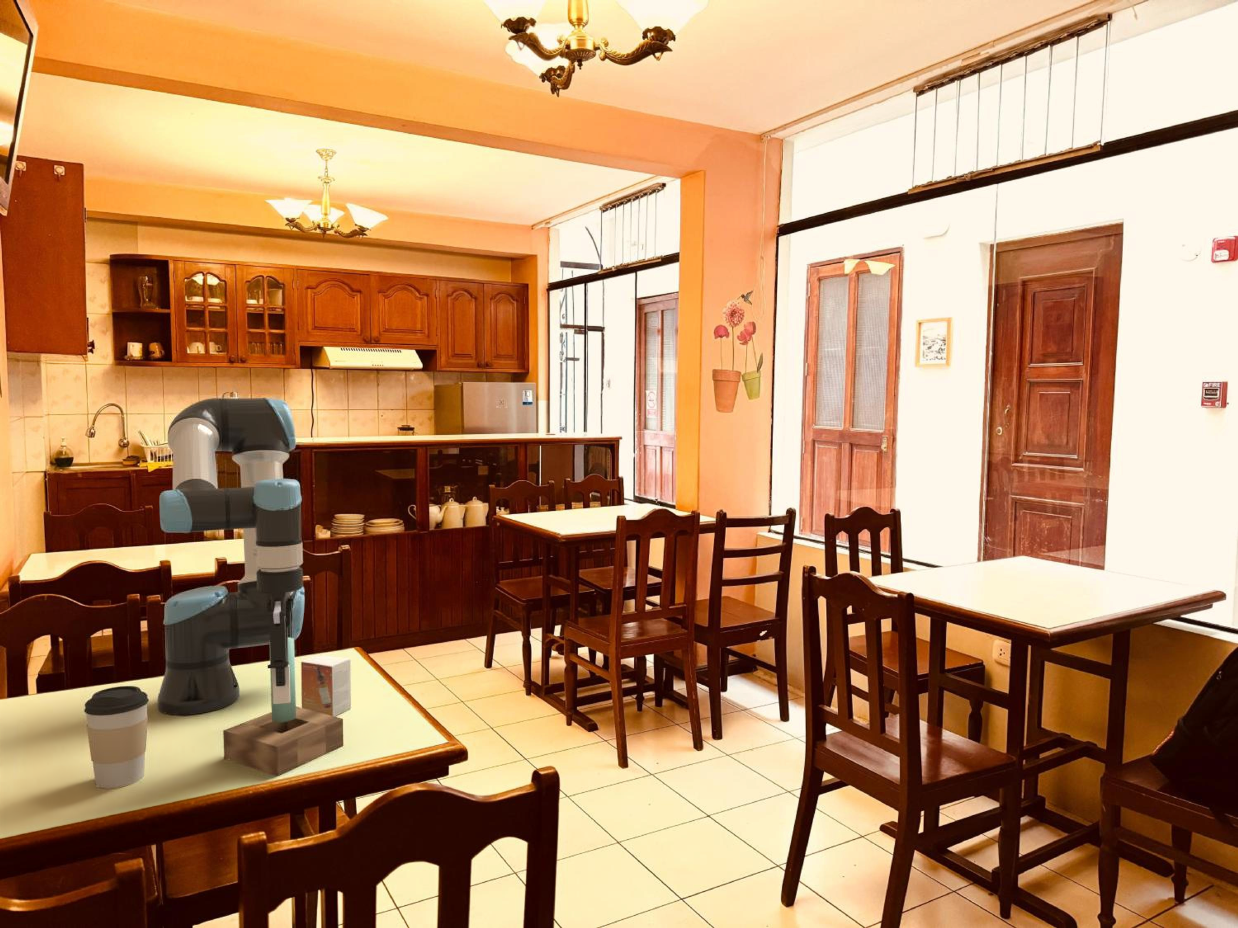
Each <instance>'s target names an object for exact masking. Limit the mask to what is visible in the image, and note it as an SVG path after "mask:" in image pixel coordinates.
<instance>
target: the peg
mask: <svg viewBox="0 0 1238 928" xmlns="http://www.w3.org/2000/svg"><path fill="white" fill-rule="evenodd" d="M294 651H295V640H294V638H290V637H288V662H289V668H290V703H281V704H273V677H272V668H269V670H270V672H269V673H270V697H271V698H270V702H271V703H270V704H271V705H270V706H271V712H272V721H274V722H287V721H291V720H293V719H295V718H296V707H297V702H296V701H297V700H296V699H297V698H296V694H297V693H296V666H295V665H296V664H295V663H296V662H295V661H296V659H295V657H296V656H294ZM269 663H271V655H270V654H269Z"/></svg>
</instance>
